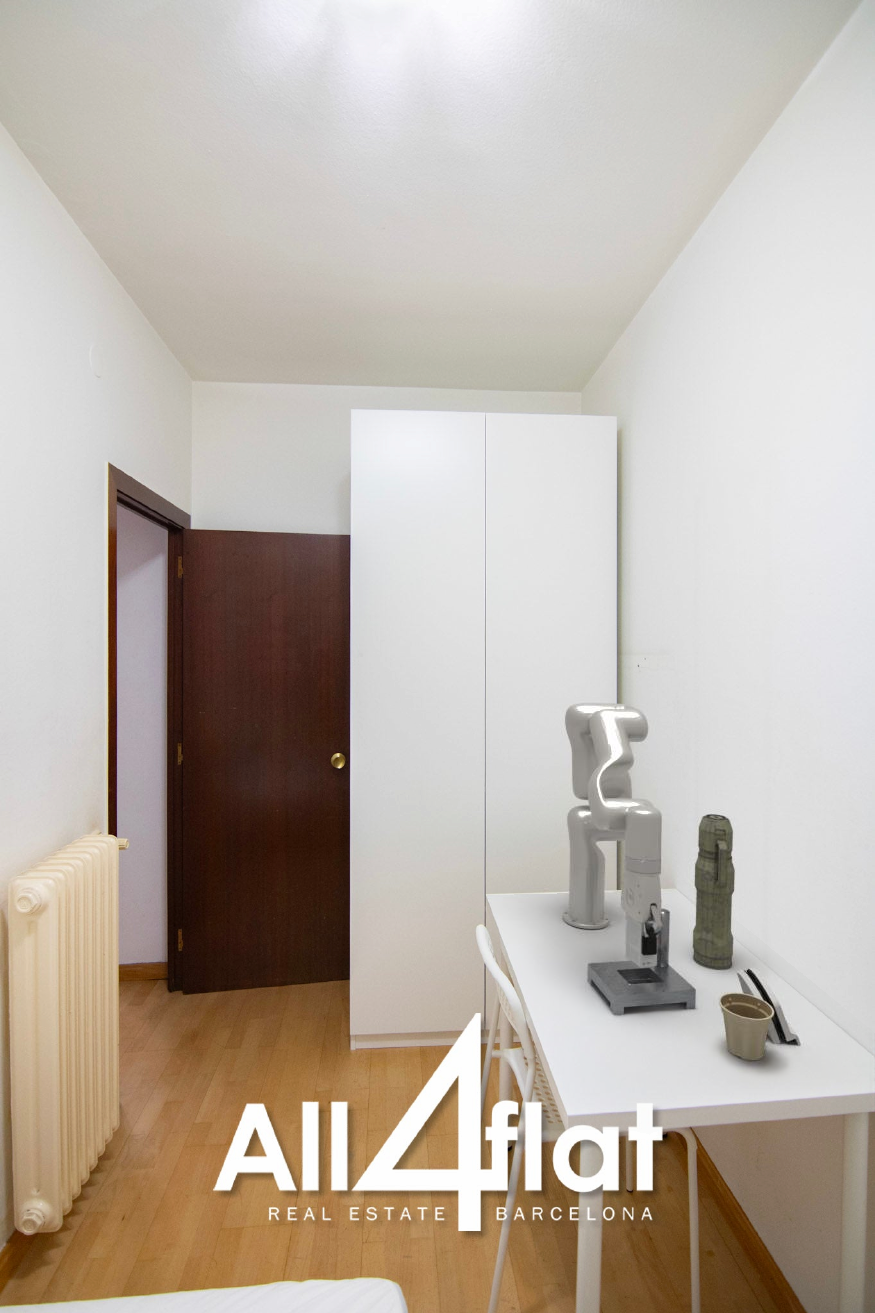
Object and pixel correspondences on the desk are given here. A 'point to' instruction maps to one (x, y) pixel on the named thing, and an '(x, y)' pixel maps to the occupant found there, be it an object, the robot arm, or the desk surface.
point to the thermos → (714, 893)
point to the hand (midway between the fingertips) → (641, 946)
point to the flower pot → (745, 1024)
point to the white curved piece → (759, 988)
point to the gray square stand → (663, 976)
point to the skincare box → (637, 943)
